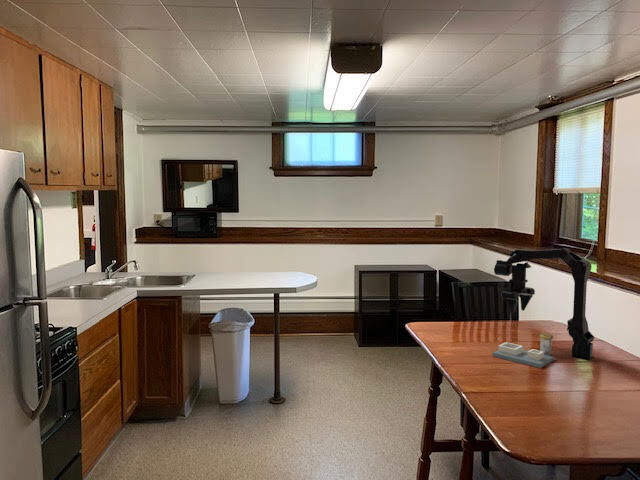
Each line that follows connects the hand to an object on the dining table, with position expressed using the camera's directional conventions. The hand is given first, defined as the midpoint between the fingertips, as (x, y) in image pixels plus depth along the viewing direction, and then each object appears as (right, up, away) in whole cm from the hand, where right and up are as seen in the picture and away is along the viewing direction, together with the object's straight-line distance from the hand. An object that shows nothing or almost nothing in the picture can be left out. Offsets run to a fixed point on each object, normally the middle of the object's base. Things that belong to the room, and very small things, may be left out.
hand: (517, 311), depth 212 cm
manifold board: (-6, -16, -20) cm, 26 cm away
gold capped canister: (+6, -15, -14) cm, 22 cm away
